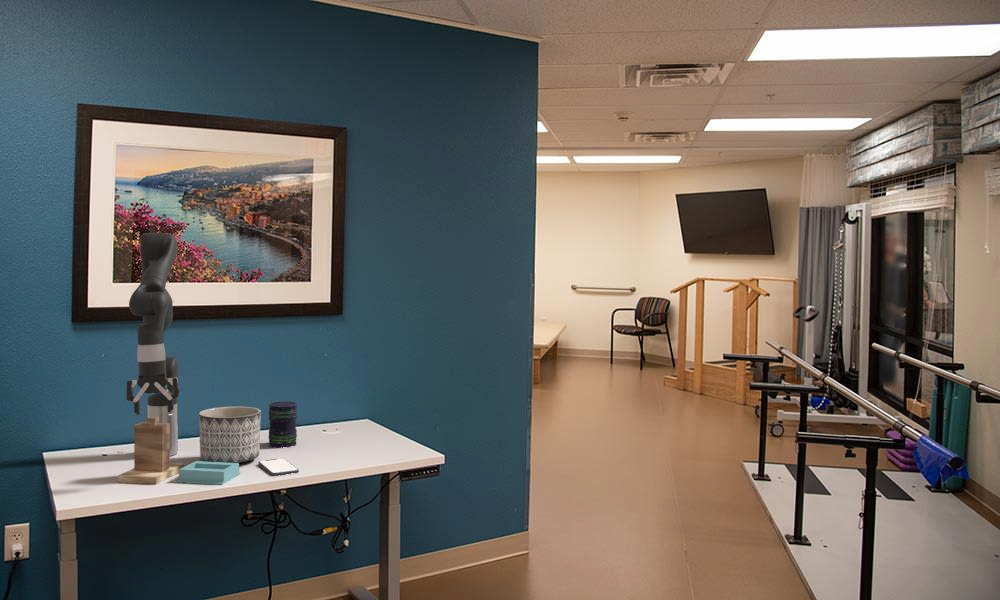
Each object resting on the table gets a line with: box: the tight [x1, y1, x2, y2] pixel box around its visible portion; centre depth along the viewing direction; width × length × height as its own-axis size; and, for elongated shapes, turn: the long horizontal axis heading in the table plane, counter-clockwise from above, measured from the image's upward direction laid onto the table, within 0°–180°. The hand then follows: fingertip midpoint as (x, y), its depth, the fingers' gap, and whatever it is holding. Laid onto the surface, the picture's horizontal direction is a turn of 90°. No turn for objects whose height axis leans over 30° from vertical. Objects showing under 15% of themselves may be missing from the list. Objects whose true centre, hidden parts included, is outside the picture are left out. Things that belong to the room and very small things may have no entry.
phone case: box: [258, 457, 300, 477], centre depth 247 cm, size 9×2×16 cm
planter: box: [198, 406, 262, 464], centre depth 254 cm, size 19×19×16 cm
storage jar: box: [268, 401, 298, 449], centre depth 278 cm, size 10×10×15 cm
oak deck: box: [117, 462, 185, 485], centre depth 235 cm, size 16×12×2 cm
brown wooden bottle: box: [133, 416, 170, 472], centre depth 235 cm, size 4×9×16 cm, turn 84°
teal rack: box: [177, 460, 241, 486], centre depth 234 cm, size 12×14×4 cm
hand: (154, 413), depth 229 cm, fingers open, 8 cm apart
